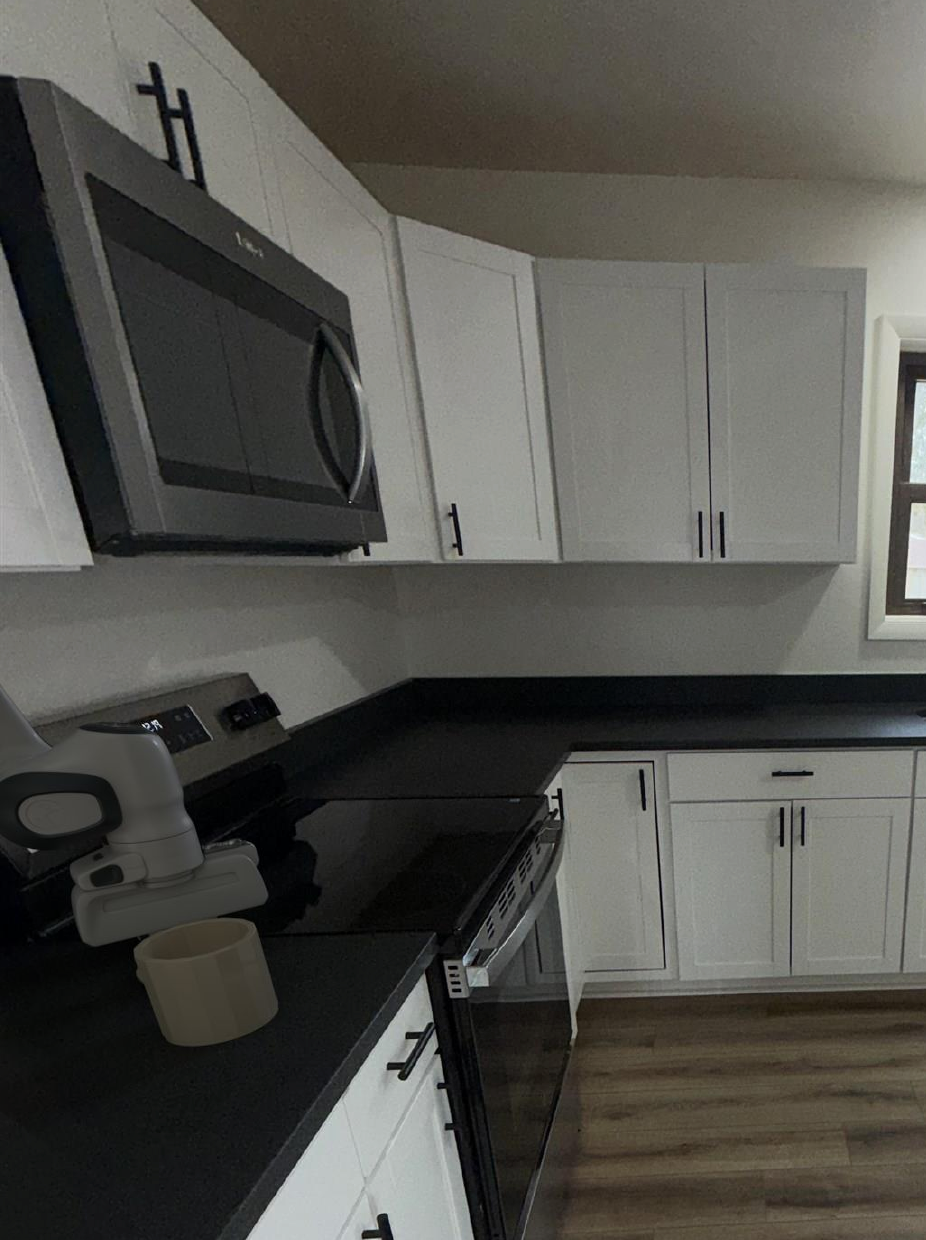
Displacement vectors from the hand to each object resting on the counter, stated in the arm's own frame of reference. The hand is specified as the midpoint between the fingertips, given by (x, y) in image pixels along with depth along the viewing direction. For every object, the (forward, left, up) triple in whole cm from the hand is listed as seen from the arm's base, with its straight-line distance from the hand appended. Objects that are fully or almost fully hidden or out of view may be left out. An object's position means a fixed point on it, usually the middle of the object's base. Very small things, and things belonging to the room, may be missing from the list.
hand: (192, 953), depth 109 cm
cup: (-1, -17, -2) cm, 17 cm away
